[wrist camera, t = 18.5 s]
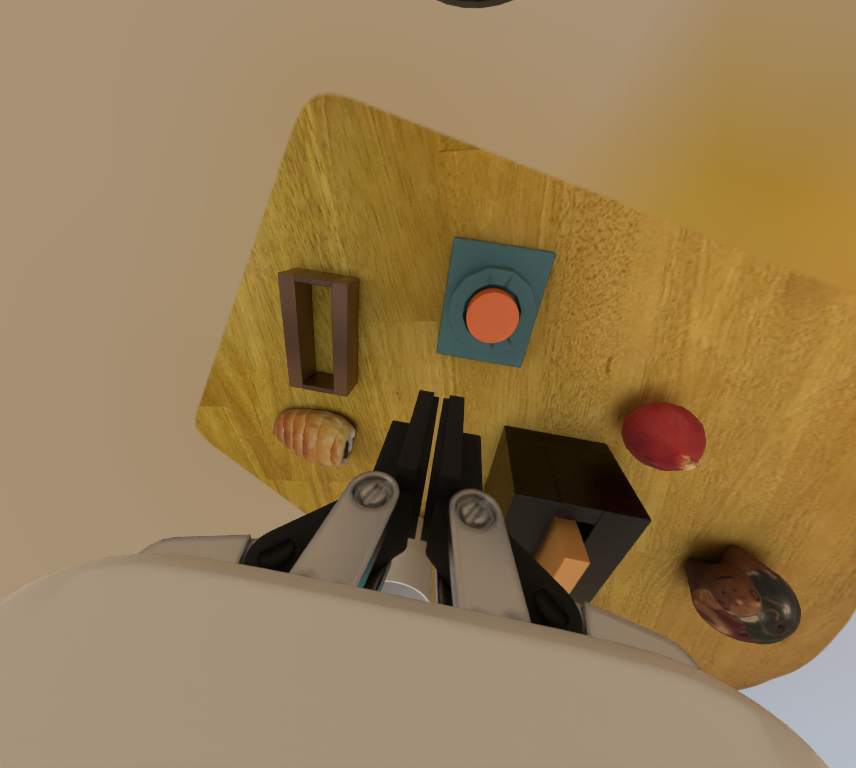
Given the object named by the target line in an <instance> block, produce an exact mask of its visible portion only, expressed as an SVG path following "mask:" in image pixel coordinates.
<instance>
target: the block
mask: <svg viewBox="0 0 856 768" xmlns="http://www.w3.org/2000/svg"><path fill="white" fill-rule="evenodd" d="M555 256H556V253H554V252H551V251H544V250H538V249H531V248H525V247H518V246H512V245H505V244H499V243H492V242H486V241H479V240H473V239H467V238H460V237H455V238H454V244H453V250H452V257H451V263H450V269H449V276H448V282H447V288H446V295H445V301H444V307H443V314H442V320H441V327H440V333H439V339H438V346H437V352H436V353H438V354H444V355H450V356H456V357H462V358H467V359H473V360H479V361H485V362H490V363H496V364H502V365H508V366H514V367H519V368H520V367H521V364H522V361H523V358H524V355H525V352H526V348H527V345H528V342H529V339H530V336H531V332H532V329H533V326H534V323H535V320H536V316H537V313H538V310H539V307H540V304H541V300H542V297H543V294H544V291H545V288H546V284H547V281H548V278H549V275H550V272H551V268H552V265H553V262H554V259H555ZM488 288H498V289H502V290H504V291H506V292H507V293H509V294H510V295H511V296H512V298H513V299H514V301H515V303H516V305H517V307H518V311H519V322H518V325H517V327H516V329H515V331H514V332H513V333H512V335H511V336H509V337H508V338H507V339H505V340H503V341H501V342H497V343H485V342H482V341H479V340H478V339H476V338H475V337H474V336H473V335H472V334H471V333H470V331H469V329H468V327H467V322H466V315H467V307H468V304H469V302H470V301H471V299H472V298H473V297H474V296H475V295H476V294H477V293H478V292H480V291H482V290H484V289H488Z"/></svg>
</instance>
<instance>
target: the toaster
mask: <svg viewBox="0 0 856 768" xmlns="http://www.w3.org/2000/svg"><path fill="white" fill-rule="evenodd" d="M484 492H485V493H487V494H489V495H490V496H491V497H493V498H494V499H495V501H496V502H497V503H498V504H499V507H500V509H501V511H502V515H503V518H504V522H505V526H506V530H507V532H508V533H509V534H510V535H511V536H512V537H513V538H514V539H515V540H516V541H517V542H518V543H519V544H520V545H521V546H522V547H523V548H524V549H525V550H526V551H527V552H528V553H529V554H530V555H531V556H532V557H533V558H534V556H535V554H536V552H537V550H538V548H539V546H540V544H541V542H542V540H543V538H544V536H545V534H546V532H547V530H548V528H549V526H550V524H551V522H552V520H553V518H554V516H555V517H558V518H564V519H569V520H574V521H576V522H577V525H578V528H579V531H580V534H581V537H582V540H583V543H584V546H585V549H586V552H587V555H588V558H589V561H590V564H589V566H588V567H587V569H586V570H585V572H584V573H583V575H582V576H581V577H580V579H579V580H578V582H577V583H576V585H575V586H574V588H573V589H572V591H571V592H570V594H569V595H570V596H571V597H572V598H573V600H574V601H575V602H577V603H579V604H581V605H583V604H584V602H587V603H590V601H591V600H592V599H593V597H594V596H595V595H596V593H597V592H598V591H599V590H600V588H601V587H602V586H603V584H604V583H605V582H606V580H607V579H608V578H609V576H610V575H611V574H612V572H613V571H614V570H615V568H616V567H617V566H618V564H619V563H620V562H621V560H622V559H623V558H624V557H625V555H626V554H627V553H628V551H629V550H630V549H631V547H632V546H633V545H634V543H635V542H636V541H637V539H638V538H639V537H640V535H641V534H642V533H643V531H644V530H645V529H646V527H647V526H648V525H649V523H650V522H651V519H650V517H649V515H648V513H647V512H646V510H645V508H644V507H643V505H642V503H641V502H640V500H639V498H638V497H637V495H636V493H635V491H634V490H633V488H632V486H631V485H630V483H629V481H628V480H627V478H626V476H625V475H624V473H623V471H622V469H621V468H620V466H619V464H618V463H617V461H616V459H615V458H614V456H613V454H612V453H611V451H610V449H609V447H608V446H607V444H603V443H597V442H592V441H586V440H581V439H575V438H570V437H564V436H559V435H553V434H548V433H542V432H537V431H531V430H526V429H521V428H515V427H510V426H504V429H503V432H502V435H501V438H500V442H499V445H498V448H497V451H496V454H495V457H494V460H493V464H492V467H491V470H490V473H489V476H488V479H487V483H486V486H485V489H484Z"/></svg>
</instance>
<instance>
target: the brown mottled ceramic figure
mask: <svg viewBox="0 0 856 768" xmlns="http://www.w3.org/2000/svg"><path fill="white" fill-rule="evenodd" d="M685 569H686V573H687V577H688V582H689V587H690V592H691V597H692V601H693V604H694V606H695V608H696V610H697V612H698V613H699V615H700V616H701V617H702V618H703V619H704V620H705V621H706V622H707V623H708V624H709V625H711V626H712V627H713V628H715V629H716V630H718V631H719V632H721V633H723V634H725V635H727V636H729V637H731V638H734V639H736V640H739V641H744V642H750V643H756V644H772V643H776V642H779V641H782V640H783V639H785V638H787V637H788V636H790V635H791V634H792V633H794V632H795V630H796V629H797V627H798V625H799V623H800V618H801V609H800V605H799V602H798V600H797V597H796V595H795V593H794V592H793V590H792V588H791V587H790V586H789V585H788V583H787V582H786V581H785V580H784V579H782V578H781V577H780V576H779V575H778V574H776V573H775V572H774V571H772V570H771V569H769V568H768V567H767V566H765V565H764V564H763V563H761V562H760V561H758V560H757V559H755V558H754V557H753V556H751V555H750V554H748V553H747V552H745V551H744V550H743V549H741V548H739V547H737V546H729V547H727V549H726V551H725V554H724V556H723V560H722V561H721V562H720V563H717V564H714V565H712V564H707V563H703V562H701V561H699V560H696V559H689V560H687V562H686V564H685Z"/></svg>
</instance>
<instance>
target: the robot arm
mask: <svg viewBox="0 0 856 768" xmlns="http://www.w3.org/2000/svg"><path fill="white" fill-rule="evenodd" d="M438 402H439V397H435V396H434V392H428V391H422V390H420V391H419V395H418V398H417V401H416V405H415V408H414V411H413V415H412V418H411V421H410V423H405V422H399V421H393V422H392V424H391V426H390V429H389V432H388V434H387V437H386V439H385V442H384V444H383V447H382V450H381V452H380V455H379V457H378V460H377V463H376V465H375V468H374V470H373V471H368V472H365V473H362V474H360V475H358V476H356V477H355V478H354V479H353V480H352V481H351V482H350V483H349V485H348V486H347V487H346V489H345V490H344V492H343V493H342V495H341V496H340V498H339V499H338V500H337V501H335V502H332V503H330V504H328V505H326V506H324V507H322V508H319V509H317V510H315V511H313V512H311V513H309V514H307V515H305V516H302V517H300V518H298V519H296V520H294V521H292V522H290V523H287V524H285V525H283V526H281V527H279V528H277V529H274V530H272V531H270V532H268V533H267V534H265V535H263V536H262V537H260V538H258V539H251V536H250V535H228V536H197V537H173V538H168V539H163V540H160V541H158V542H156V543H153V544H151V545H150V546H148V547H147V548H145V549H144V550H142V551H141V552H140V553H138V554H130V555H122V556H114V557H108V558H102V559H97V560H91V561H87V562H83V563H79V564H76V565H72V566H69V567H66V568H63V569H59V570H57V571H55V572H52V573H50V574H48V575H45V576H42V577H40V578H38V579H36V580H34V581H32V582H31V583H29V584H27V585H25V586H24V587H22V588H20V589H18V590H17V591H15V592H14V593H12V594H11V595H9V596H7V597H6V598H4V599H3V600H1V601H0V768H829V767H828V766H827V765H826V764H825V763H824V761H823V760H822V759H821V758H820V757H819V756H818V755H817V754H816V752H815V751H814V750H813V749H812V748H811V747H810V746H809V745H808V744H807V743H806V742H805V741H804V740H803V739H802V738H801V737H799V736H798V735H797V734H796V733H795V732H794V731H793V730H792V729H791V728H789V727H788V726H787V725H786V724H784V723H783V722H782V721H781V720H779V719H778V718H777V717H775V716H774V715H773V714H772V713H770V712H769V711H768V710H766V709H765V708H763V707H762V706H760V705H759V704H757V703H756V702H755V701H753V700H752V699H750V698H748V697H747V696H745V695H744V694H742V693H740V692H739V691H737V690H735V689H734V688H732V687H730V686H729V685H727V684H725V683H723V682H722V681H720V680H718V679H716V678H714V677H712V676H710V675H709V674H707V673H705V672H703V671H701V670H700V668H699V667H698V665H697V664H696V663H695V661H694V660H693V659H692V657H691V656H690V655H689V654H688V653H687V652H686V651H685V650H684V649H683V648H682V647H681V646H680V645H678V644H677V643H675V642H674V641H672V640H670V639H669V638H667V637H665V636H663V635H661V634H658V633H656V632H654V631H651V630H649V629H647V628H644V627H642V626H640V625H638V624H635V623H633V622H631V621H628V620H626V619H624V618H621V617H619V616H617V615H615V614H612V613H610V612H608V611H605V610H603V609H601V608H599V607H596V606H594V605H592V604H589V603H587V602H584V604H583V605H581V604H579V603H577V602H575V601H574V600H573V598H572V597H571V596H570V595H569V594H568V592H567V591H566V590H565V589H564V588H563V587H562V586H561V585H560V584H559V583H558V582H557V581H556V580H555V579H554V578H553V577H552V576H551V575H550V574H549V573H548V572H547V571H546V570H545V569H544V568H543V567H542V566H541V565H540V564H539V563H538V562H537V561H536V560H535V559H534V558H533V557H532V556H531V555H530V554H529V553H528V552H527V551H526V550H525V549H524V548H523V547H522V546H521V545H520V544H519V543H518V542H517V541H516V540H515V539H514V538H513V537H512V536H511V535H510V534H509V533H508V532H507V530H506V526H505V522H504V518H503V515H502V511H501V509H500V507H499V504H498V503H497V502H496V501H495V499H494V498H493V497H491V496H490V495H489V494H487V493H485V492H483V490H482V461H481V437H480V436H479V435H474V434H468V433H463V421H464V397H458V396H452V395H450V398H449V399H447V398H444V400H443V405H442V411H441V417H440V423H439V429H438V435H437V441H436V447H435V452H434V458H433V465H432V471H431V477H430V483H429V489H428V496H427V502H426V508H425V514H424V521H423V527H422V533H421V539H420V541H425V542H427V544H426V551H425V553H426V556H427V557H428V559H429V560H430V561H431V563H432V564H433V566H434V567H435V571H434V585H435V603H433V602H428V601H423V600H418V599H413V598H408V597H403V596H398V595H394V594H389V593H384V592H381V590H382V588H383V585H384V583H385V580H386V577H387V575H388V572H389V570H390V567H391V564H392V559H393V558H395V557H396V556H398V555H399V554H401V553H403V552H404V551H405V549H406V548H407V543H408V538H410V539H415V536H416V530H417V525H418V519H419V514H420V508H421V502H422V497H423V491H424V485H425V480H426V474H427V469H428V463H429V457H430V451H431V445H432V439H433V433H434V426H435V420H436V414H437V408H438Z"/></svg>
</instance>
